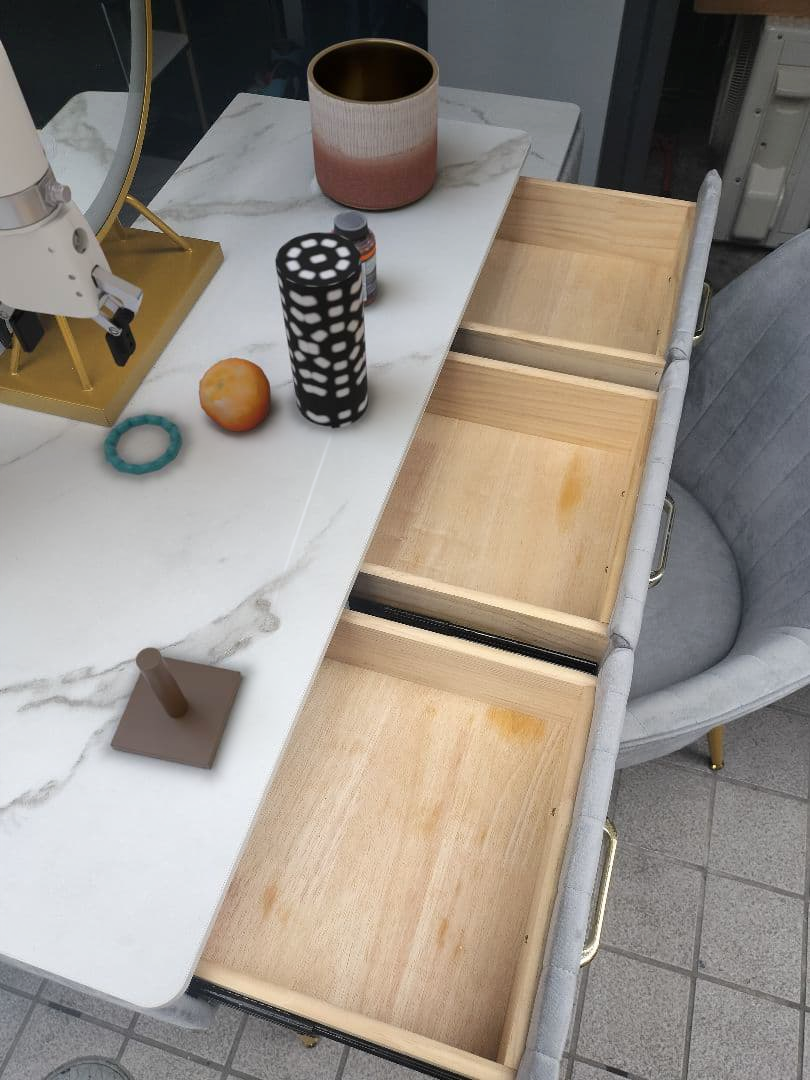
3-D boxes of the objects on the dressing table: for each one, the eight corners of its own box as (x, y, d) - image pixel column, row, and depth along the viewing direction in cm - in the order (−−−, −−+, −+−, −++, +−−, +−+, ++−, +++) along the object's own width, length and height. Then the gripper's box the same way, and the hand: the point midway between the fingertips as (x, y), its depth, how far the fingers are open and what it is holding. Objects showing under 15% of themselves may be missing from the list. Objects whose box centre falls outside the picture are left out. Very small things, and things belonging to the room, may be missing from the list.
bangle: (94, 470, 90) (90, 463, 89) (124, 414, 94) (121, 407, 93) (166, 482, 89) (163, 475, 88) (192, 425, 93) (190, 418, 92)
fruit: (300, 396, 94) (265, 371, 87) (260, 451, 95) (222, 431, 87) (254, 362, 97) (216, 335, 90) (216, 416, 98) (175, 393, 90)
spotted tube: (311, 438, 92) (292, 296, 76) (287, 389, 97) (263, 245, 80) (379, 416, 94) (374, 272, 78) (352, 369, 99) (342, 224, 82)
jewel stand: (113, 749, 72) (71, 699, 63) (151, 659, 77) (117, 600, 68) (210, 770, 71) (182, 722, 62) (242, 677, 76) (220, 619, 67)
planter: (338, 138, 127) (330, 29, 114) (448, 156, 124) (454, 46, 111) (299, 204, 117) (286, 93, 104) (418, 224, 115) (420, 114, 102)
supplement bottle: (322, 298, 106) (314, 221, 96) (351, 275, 109) (346, 197, 99) (357, 317, 104) (353, 240, 94) (386, 293, 107) (385, 216, 97)
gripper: (127, 178, 67) (176, 336, 82) (-63, 154, 69) (17, 313, 84) (89, 233, 63) (148, 389, 78) (-112, 207, 65) (-18, 363, 80)
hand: (80, 349), depth 81 cm, fingers open, 9 cm apart
